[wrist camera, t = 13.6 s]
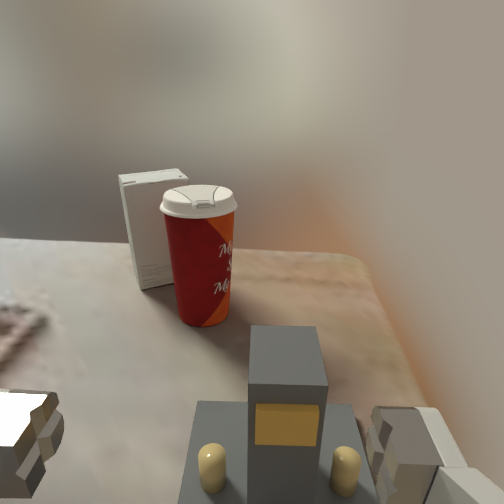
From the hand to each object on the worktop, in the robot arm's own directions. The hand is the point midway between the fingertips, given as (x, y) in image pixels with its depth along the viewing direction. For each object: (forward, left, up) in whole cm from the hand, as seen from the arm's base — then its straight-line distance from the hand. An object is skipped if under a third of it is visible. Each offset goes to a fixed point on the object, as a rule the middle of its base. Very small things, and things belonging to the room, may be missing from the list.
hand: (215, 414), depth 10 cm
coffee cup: (-5, +32, -18) cm, 37 cm away
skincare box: (-12, +41, -18) cm, 46 cm away
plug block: (+3, +10, -17) cm, 20 cm away
